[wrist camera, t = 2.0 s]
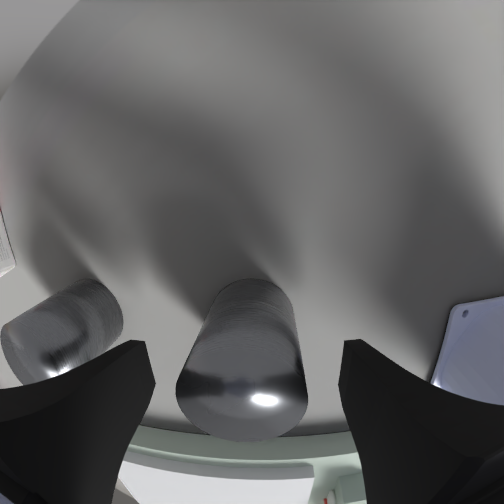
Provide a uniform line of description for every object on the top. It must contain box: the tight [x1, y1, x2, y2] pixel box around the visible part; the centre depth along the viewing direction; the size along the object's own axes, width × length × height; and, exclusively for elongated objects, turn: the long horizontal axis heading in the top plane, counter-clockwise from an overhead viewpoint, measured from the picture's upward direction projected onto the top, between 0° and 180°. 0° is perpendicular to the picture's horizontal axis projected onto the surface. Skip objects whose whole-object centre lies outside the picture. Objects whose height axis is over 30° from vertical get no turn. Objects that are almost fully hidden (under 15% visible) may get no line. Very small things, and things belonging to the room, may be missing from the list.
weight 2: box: [176, 279, 308, 442], centre depth 10 cm, size 4×4×6 cm
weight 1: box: [0, 279, 123, 385], centre depth 11 cm, size 4×4×6 cm
